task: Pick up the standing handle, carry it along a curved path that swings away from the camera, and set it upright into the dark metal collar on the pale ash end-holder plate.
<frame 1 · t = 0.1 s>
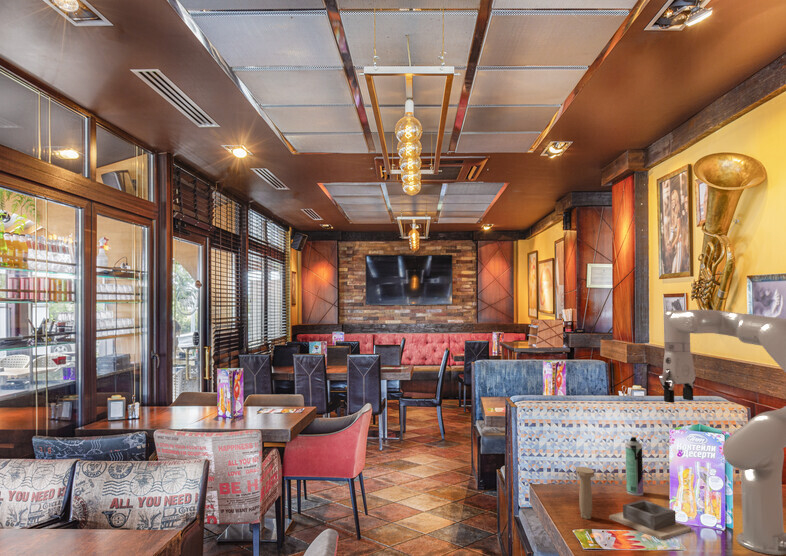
hand: (678, 401, 174), 37 cm above the table, tool pointing down, fingers open, 9 cm apart
spray can: (635, 493, 194), on the table
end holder: (649, 524, 165), on the table
handle: (586, 518, 170), on the table
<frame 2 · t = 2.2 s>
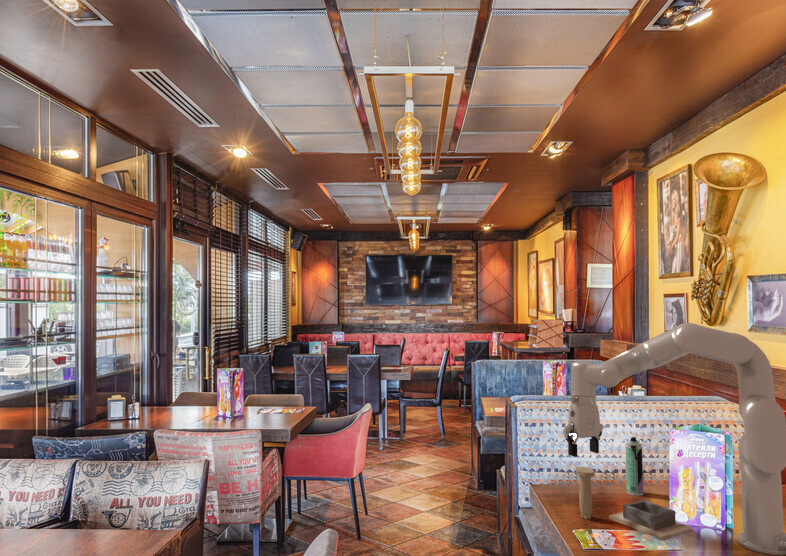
hand: (583, 454, 172), 20 cm above the table, tool pointing down, fingers open, 9 cm apart
nothing on the table moved.
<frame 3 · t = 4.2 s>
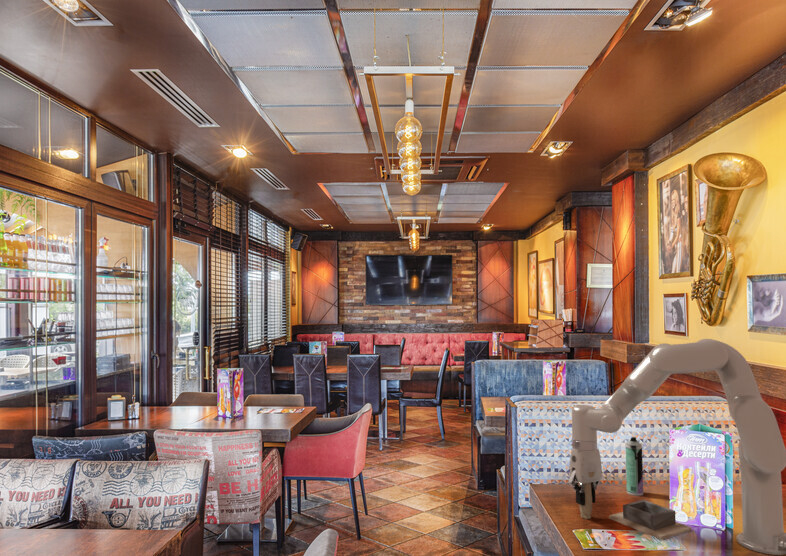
hand: (585, 502, 171), 5 cm above the table, tool pointing down, fingers closed on handle, 4 cm apart
handle: (586, 518, 170), on the table, touching gripper
everything else where it was.
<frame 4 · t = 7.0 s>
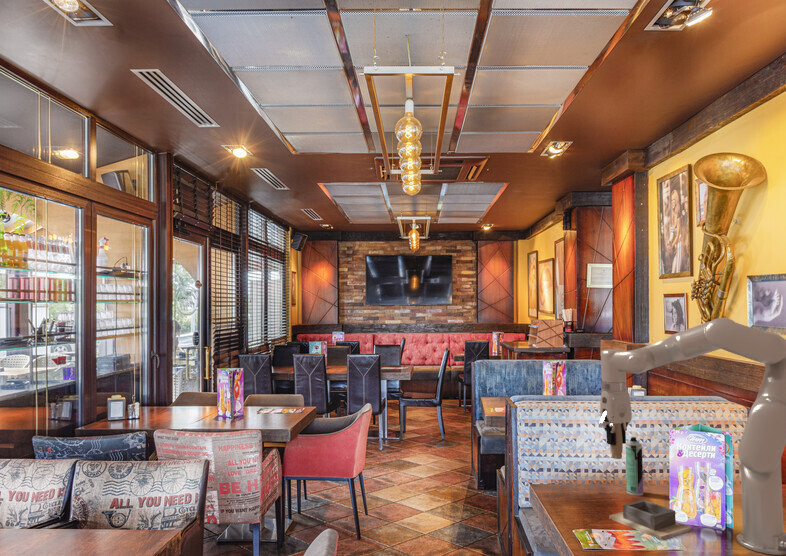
hand: (616, 443, 175), 23 cm above the table, tool pointing down, fingers closed on handle, 4 cm apart
handle: (616, 458, 174), point 18 cm above the table, touching gripper
everything else where it was.
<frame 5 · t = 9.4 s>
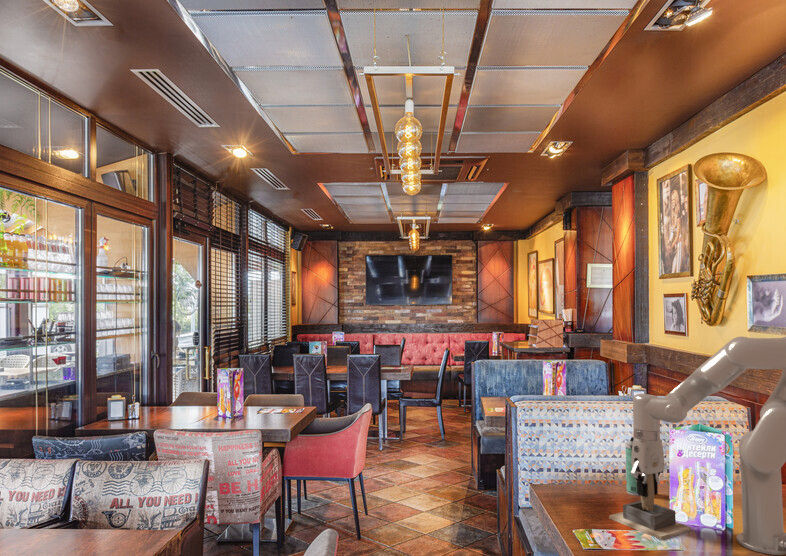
hand: (647, 493, 166), 9 cm above the table, tool pointing down, fingers closed on handle, 4 cm apart
handle: (647, 510, 166), point 4 cm above the table, touching gripper
everything else where it was.
when the fingers open (7 cm above the table, at t = 10.0 s): handle drops 1 cm, resting on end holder.
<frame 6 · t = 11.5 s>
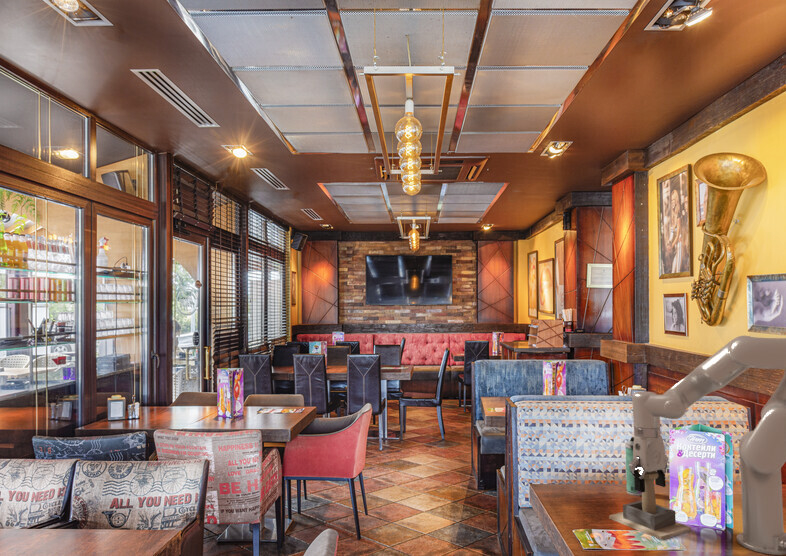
hand: (650, 488, 166), 11 cm above the table, tool pointing down, fingers open, 9 cm apart
handle: (649, 521, 165), point 1 cm above the table, touching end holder
everything else where it was.
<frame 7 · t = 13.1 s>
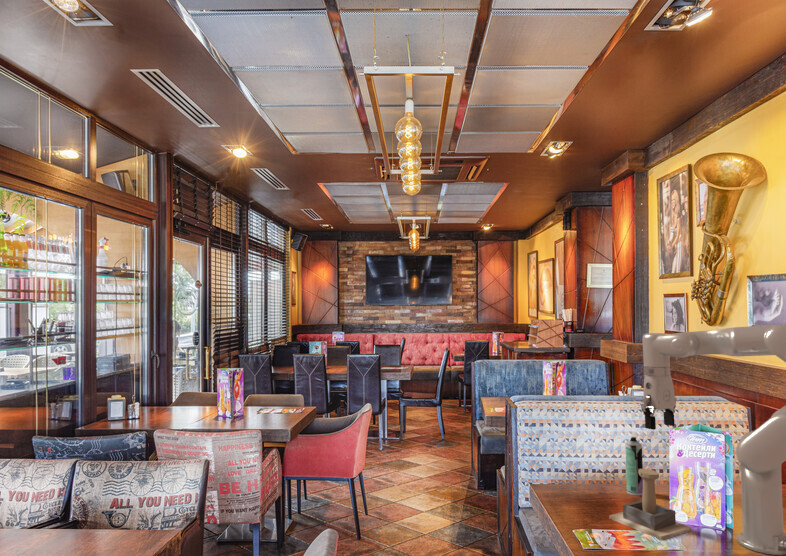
hand: (660, 427, 168), 29 cm above the table, tool pointing down, fingers open, 9 cm apart
nothing on the table moved.
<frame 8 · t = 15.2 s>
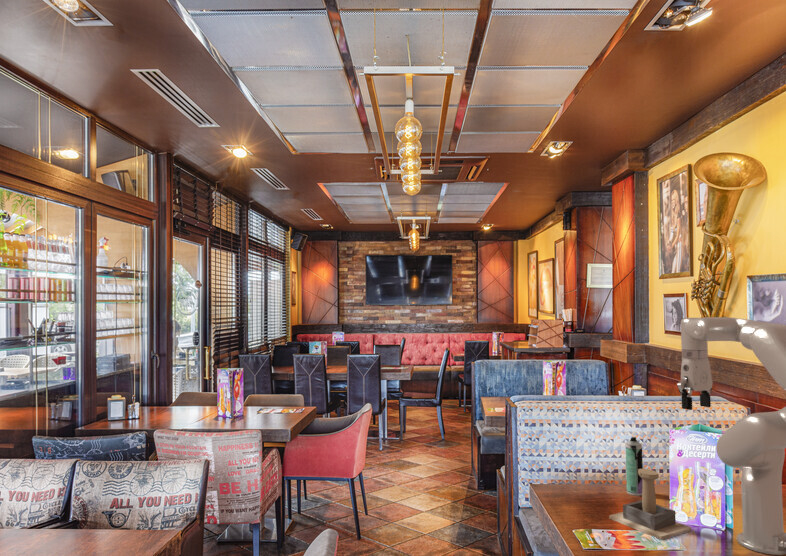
hand: (696, 407, 175), 34 cm above the table, tool pointing down, fingers open, 9 cm apart
nothing on the table moved.
at the end: handle 0.1 cm off-centre on the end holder, point 0.8 cm above the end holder's base; handle tilted 0°; the gripper is holding nothing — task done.
